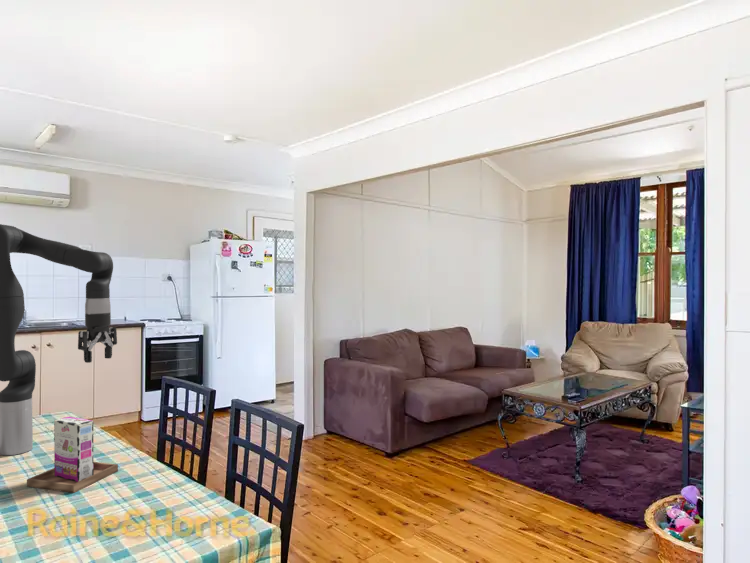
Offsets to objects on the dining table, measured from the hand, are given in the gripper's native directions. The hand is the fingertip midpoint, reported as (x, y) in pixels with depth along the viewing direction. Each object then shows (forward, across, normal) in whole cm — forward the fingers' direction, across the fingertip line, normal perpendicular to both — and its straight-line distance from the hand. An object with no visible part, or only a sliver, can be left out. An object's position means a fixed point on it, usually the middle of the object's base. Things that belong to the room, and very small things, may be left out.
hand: (98, 360), depth 173 cm
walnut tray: (+30, +22, +12) cm, 39 cm away
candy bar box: (+30, +22, +12) cm, 39 cm away
